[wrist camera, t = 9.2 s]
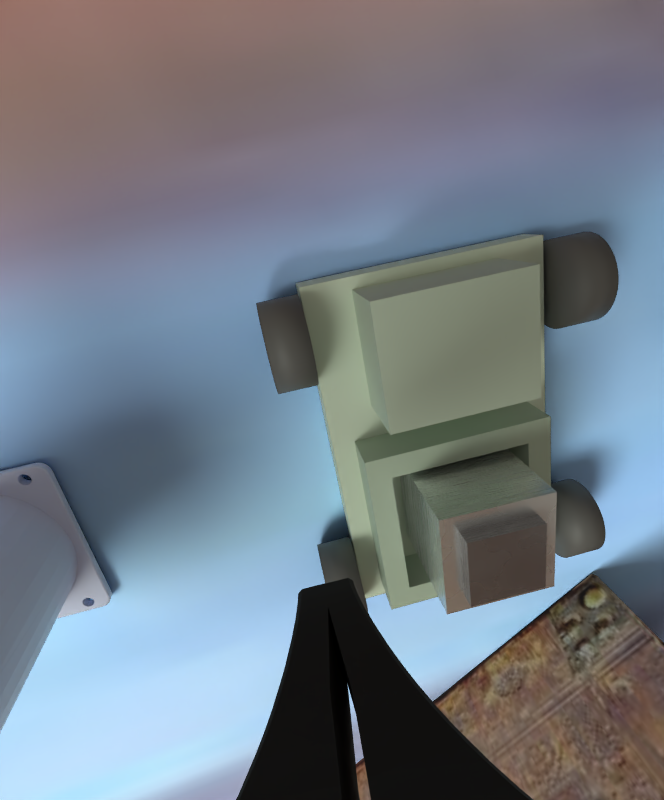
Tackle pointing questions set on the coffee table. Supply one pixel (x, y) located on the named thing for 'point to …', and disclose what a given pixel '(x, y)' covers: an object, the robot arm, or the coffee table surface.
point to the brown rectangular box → (569, 703)
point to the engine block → (482, 528)
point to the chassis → (436, 382)
